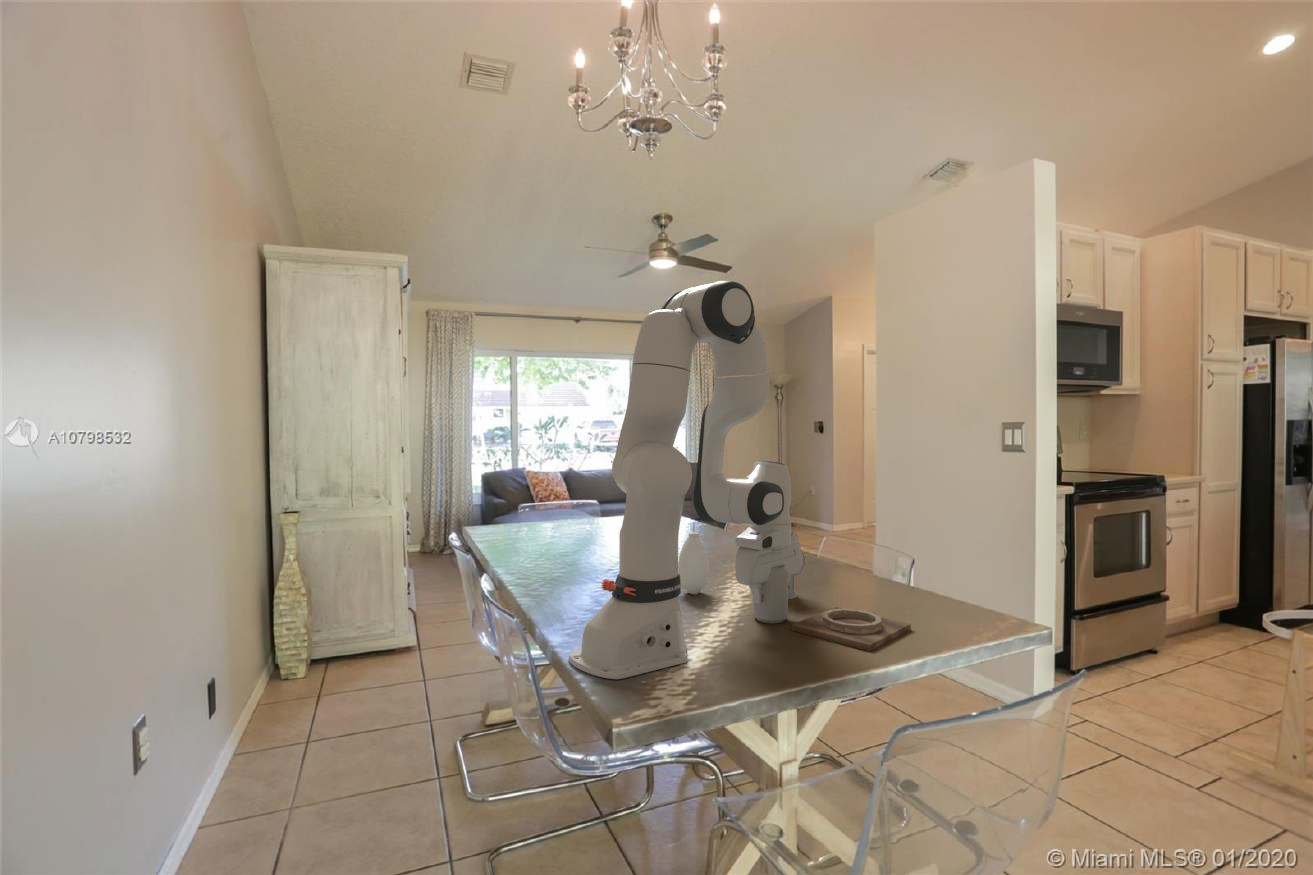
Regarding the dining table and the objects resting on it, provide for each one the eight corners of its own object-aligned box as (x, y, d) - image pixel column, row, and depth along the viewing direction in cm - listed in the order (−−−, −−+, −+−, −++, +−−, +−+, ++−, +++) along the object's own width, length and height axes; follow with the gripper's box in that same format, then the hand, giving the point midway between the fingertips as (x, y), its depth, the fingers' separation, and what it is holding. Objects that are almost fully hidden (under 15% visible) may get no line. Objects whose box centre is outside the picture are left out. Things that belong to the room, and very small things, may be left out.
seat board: (869, 651, 116) (870, 637, 116) (791, 630, 128) (792, 617, 128) (910, 629, 129) (910, 616, 129) (836, 612, 141) (836, 600, 141)
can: (785, 614, 139) (786, 561, 139) (789, 625, 132) (790, 568, 132) (752, 613, 140) (752, 560, 140) (754, 624, 132) (754, 567, 132)
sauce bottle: (676, 589, 161) (676, 520, 160) (705, 589, 161) (706, 519, 161) (680, 598, 153) (680, 524, 153) (711, 597, 154) (712, 524, 153)
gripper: (785, 528, 145) (785, 587, 145) (730, 539, 131) (730, 604, 131) (809, 531, 141) (808, 592, 141) (754, 543, 126) (754, 611, 126)
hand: (770, 598), depth 136 cm, fingers closed on can, 7 cm apart
